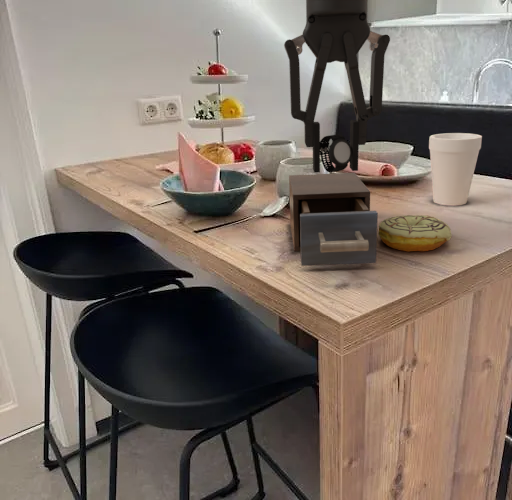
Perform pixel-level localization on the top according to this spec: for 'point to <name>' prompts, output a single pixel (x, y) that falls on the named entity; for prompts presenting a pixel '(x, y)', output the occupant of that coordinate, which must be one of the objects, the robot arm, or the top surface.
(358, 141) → the robot arm
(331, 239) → the drawer
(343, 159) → the smartwatch
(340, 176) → the cabinet
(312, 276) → the top surface
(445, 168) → the foam cup
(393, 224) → the decorated donut
